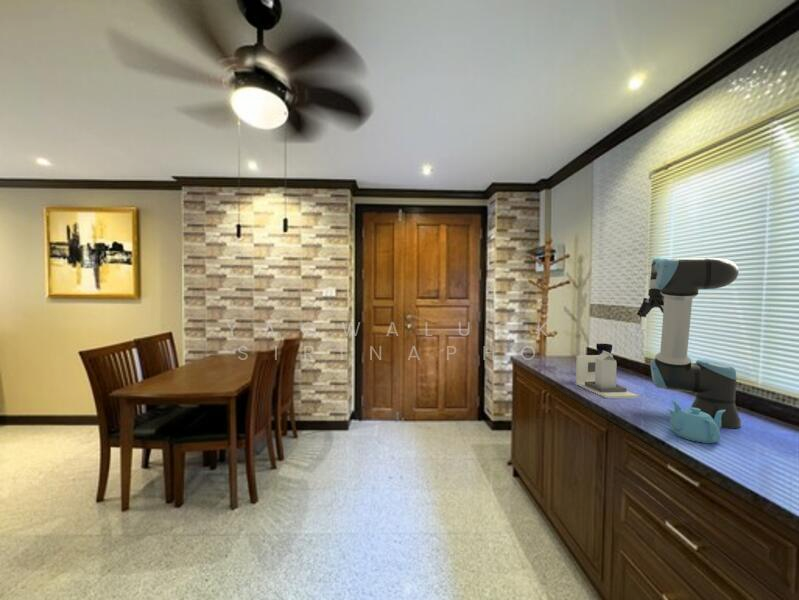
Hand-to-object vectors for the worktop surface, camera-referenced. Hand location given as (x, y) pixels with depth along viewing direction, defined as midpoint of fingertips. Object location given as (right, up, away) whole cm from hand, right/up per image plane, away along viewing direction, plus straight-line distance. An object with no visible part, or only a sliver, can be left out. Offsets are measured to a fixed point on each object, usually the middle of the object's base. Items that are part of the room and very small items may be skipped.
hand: (653, 330), depth 176 cm
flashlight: (-9, -31, +28) cm, 42 cm away
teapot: (-25, -33, -53) cm, 67 cm away
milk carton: (-23, -30, +2) cm, 38 cm away
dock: (-23, -31, +2) cm, 39 cm away
